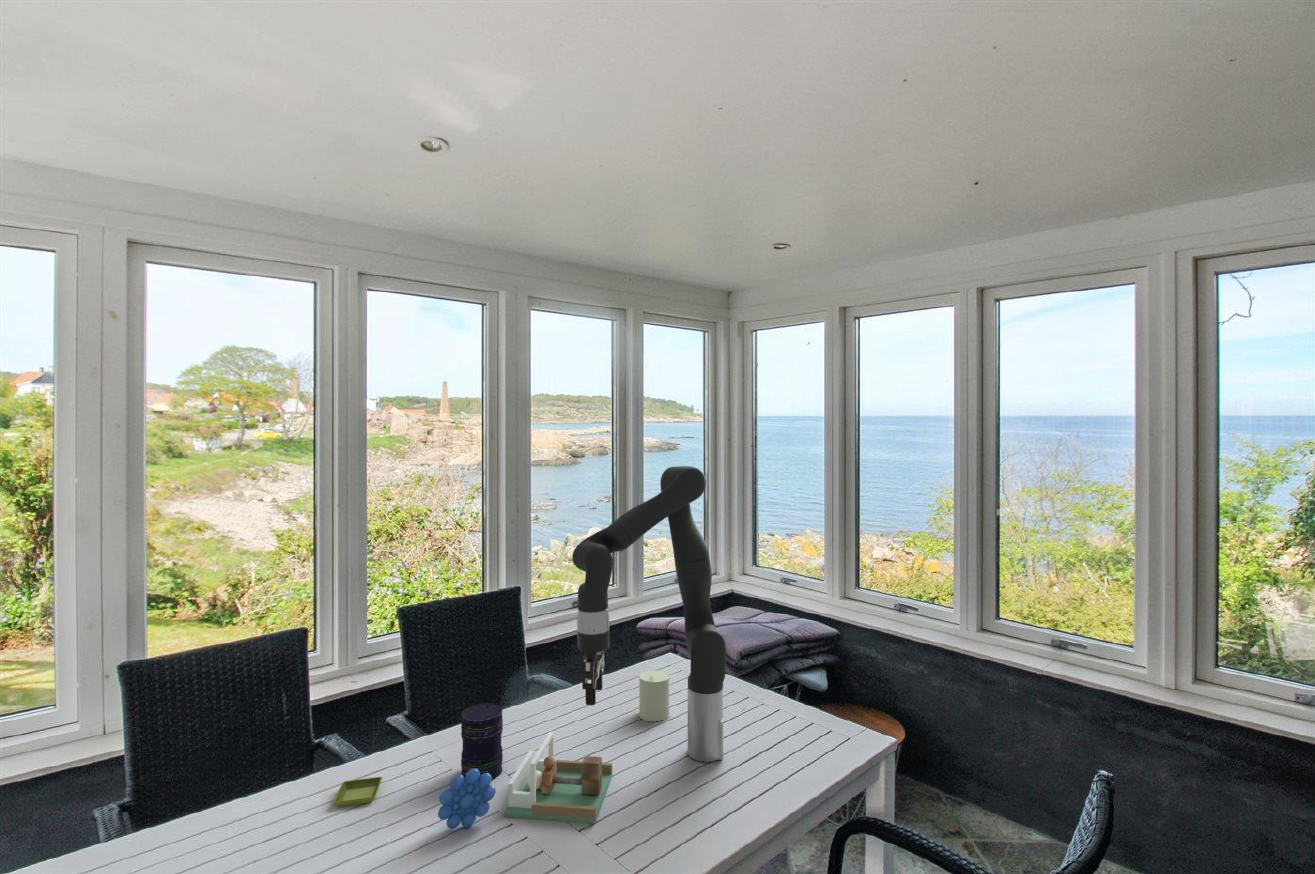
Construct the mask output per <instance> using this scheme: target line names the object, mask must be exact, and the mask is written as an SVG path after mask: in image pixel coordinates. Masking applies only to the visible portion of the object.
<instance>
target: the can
mask: <svg viewBox="0 0 1315 874" xmlns="http://www.w3.org/2000/svg"><path fill="white" fill-rule="evenodd" d="M670 677H671V676H670V674H669V673H668V672H666V671H661V670H646V671H643V672H641V673H640V674H639V676H638V679H639V684H638V685H639V691H638V692H639V699H638V700H639V703H638V704H639V706H638V707H639V708H638V716H640V717H641V718H642V720H643V721H646V722H651V721H653V722H656V721H658V722H662V721H661V720H663V721H665V719H666V720H667V719H669V718H670V714H671V713H670ZM640 717H639V718H640ZM641 718H640V719H641ZM653 722H652V723H653Z"/></svg>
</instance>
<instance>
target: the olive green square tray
mask: <svg viewBox="0 0 1315 874" xmlns="http://www.w3.org/2000/svg"><path fill="white" fill-rule="evenodd" d="M382 780H383V776H377V777H375V776H374V777H368V778H367V777H366V778H360V779H352V780H351V779H350V780H345V781H343V782H341V785H340V787H339V789H338V791H337V793H336V796H335V798H334V799H333V803H334V805H336V806H337V807H346V806H347V807H348V806H355V805H361V804H363V805H364V804H369V803H372V802H373V801H374V800H375V799H376V796H377V794H378V791H379V789H380V785H381V783H382Z"/></svg>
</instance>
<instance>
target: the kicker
mask: <svg viewBox="0 0 1315 874" xmlns="http://www.w3.org/2000/svg"><path fill="white" fill-rule="evenodd" d="M544 759H545V760H544V766H545V769H544V771H543V772H542V794H551V792H552V790H553V788H554V786H555V784H556V783H557V784H572V785H582V794H592V795H599V794H600V791H601V788H602V763H603V757H602V756H601V757H600V756H590V755H589V756H587V755H585V756H584V757H583V759H582V760H581V761H582V777H572V776H557V763H555V761H556V760H555V757H554V758H553V757H552V756H549V755H548V756H546V757H545V758H544Z"/></svg>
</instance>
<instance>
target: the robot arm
mask: <svg viewBox="0 0 1315 874" xmlns="http://www.w3.org/2000/svg"><path fill="white" fill-rule="evenodd" d="M659 484H660V492H659V493H658V494H657V495H655V496H653V497H651V498H650V499H648V500H646V501H644V502H641V503H640V504H638V505H636V506H634V507H633V508H631V509H629V510H627V511H626V512H624V513H623V514H622V515H620V516H619V517H618V518H617V519H616V520H614V521H612V522H611V523H610V524H609V525H608V526H607V527H606V528H603V529H601V530H598V531H597V532H595V533H593V534H592V535H589V536H588V537H586V538H585V539H583V540H582V541H581V542H579V543H578V544H577V545H576V546H575V548H574V550H573V552H572V555H571V556H572V557H571V558H572V563H573V565H574V566H575V567H576V569H578V570H581V571H583V572H585V577H584V578H585V579H584V583H581V584H580V585H579V587H578V588H577V589H578V591H577V618H576V621H577V622H576V624H577V625H576V627H577V629H576V635H577V642H576V643H577V644H576V645H577V649H578V650H579V651H580V652H584V653H585V655H586V657H584V658H583V661H582V664H581V665H582V685H581V686H582V687H581V688H582V690H585V692H584V693H585V696H584V697H585V705H586V706H596V703H597V702H596V701H597V700H596V697H597V696H596V691H602V690H603V673H604V672H605V671H604V668H605V666H606V664H605V651H606V650H607V649H609V648H610V645H611V643H610V640H611V639H610V614H609V596H608V595H609V594H608V590H609V586H610V582H611V579H612V578H611V577H612V574H613V572H612V571H613V564H614V562H613V561H614V560H613V556H612V555H613V553H616V552H617V553H618V552H623V551H625V550H627V549H628V548H629V547H630V546H632V545H633V544H634V543H635V542H637V541H638V540H639V539H641V537H643V536H644V535H645V534H646V533H647V532H649V531H650V530H651V529H653V528H654V527H655V526H657V525H658V524H659V523H661V522H662V521H663V520H665V519H667V520H668V525H669V532H670V537H671V544H672V549H673V560H674V567H675V573H676V578H677V583H678V587H679V593H680V596H681V600H682V605H683V606H682V607H683V615H684V636H685V637H684V639H685V643H686V644H685V645H686V648H687V649H688V652H689V653H690V669H689V670H690V673H689V674H688V676H687V743H686V744H687V745H686V746H687V755H688V757H690V758H691V759H693V760H694V759H695V761H697V760H699V761H698V762H702V761H704V762H705V763H711V762H716V761H723V759H724V681H725V679H726V668H727V663H726V662H727V661H726V660H727V648H726V647H727V646H726V641H725V638H724V635H722V634H721V632H720V631H719V630H718V629H717V626H716V623H715V620H714V616H713V610H712V607H711V606H712V605H711V590H712V589H711V588H712V575H713V574H712V565H711V559H710V553H709V548H708V545H707V543H706V541H705V539H704V537H703V535H702V534H701V531H700V530H699V527H698V526H697V524H696V522H695V520H694V517H693V513H692V507H691V503H693V502H694V501H696V500H698V499H699V498H701V497H702V495H703V494H704V492H705V489H706V484H707V481H706V476H705V474H704V473H703V471H702V470H701V469H699V468H698V467H695V466H693V465H692V466H690V465H683V466H681V465H680V466H670V467H668V468H666V469H664V471H663V473H662V474H661V477H660V483H659ZM589 679H590V682H589ZM588 682H589V683H588ZM715 760H716V761H715ZM710 761H711V762H710Z"/></svg>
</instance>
